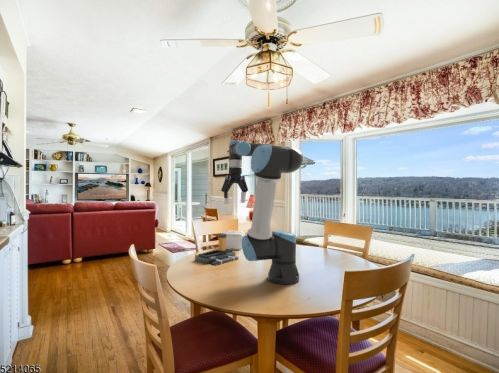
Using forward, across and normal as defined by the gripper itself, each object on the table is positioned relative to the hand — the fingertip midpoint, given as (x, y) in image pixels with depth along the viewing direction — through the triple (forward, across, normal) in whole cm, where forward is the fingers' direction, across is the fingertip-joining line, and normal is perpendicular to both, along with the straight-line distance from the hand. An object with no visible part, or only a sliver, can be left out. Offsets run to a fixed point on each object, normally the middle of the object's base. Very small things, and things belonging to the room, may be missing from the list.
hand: (235, 203), depth 165 cm
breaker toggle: (+31, -2, -13) cm, 34 cm away
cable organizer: (+35, -25, -25) cm, 50 cm away
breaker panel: (+35, +3, -13) cm, 37 cm away
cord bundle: (+35, +3, -4) cm, 35 cm away
